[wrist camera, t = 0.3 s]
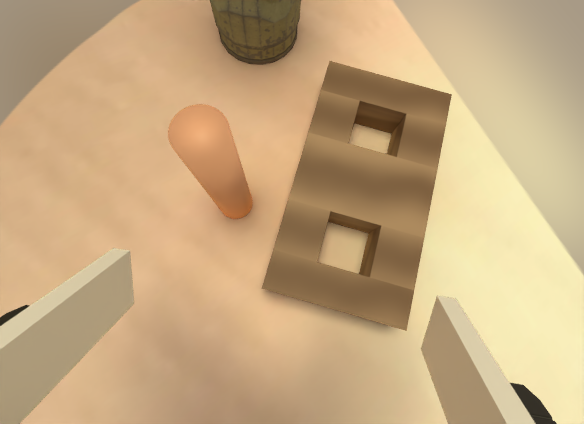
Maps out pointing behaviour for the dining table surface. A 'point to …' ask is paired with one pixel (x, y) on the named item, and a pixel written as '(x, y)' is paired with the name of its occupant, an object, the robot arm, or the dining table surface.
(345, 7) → the dining table surface
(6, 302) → the dining table surface
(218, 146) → the peg
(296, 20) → the thermos
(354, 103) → the hole block
